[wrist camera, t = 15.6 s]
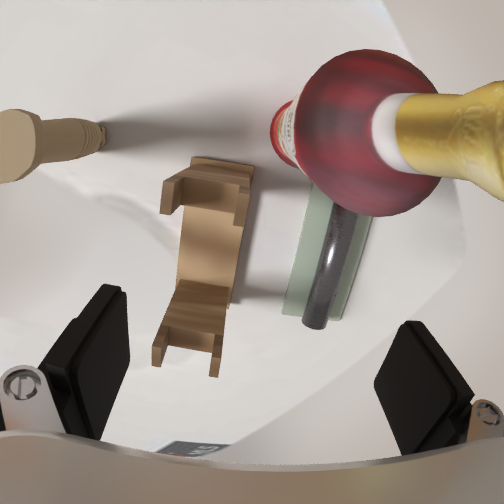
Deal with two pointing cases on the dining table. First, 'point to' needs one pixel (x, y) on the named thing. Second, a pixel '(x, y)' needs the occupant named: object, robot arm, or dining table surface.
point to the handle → (43, 142)
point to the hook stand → (204, 254)
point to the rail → (330, 266)
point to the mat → (310, 255)
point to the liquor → (389, 134)
